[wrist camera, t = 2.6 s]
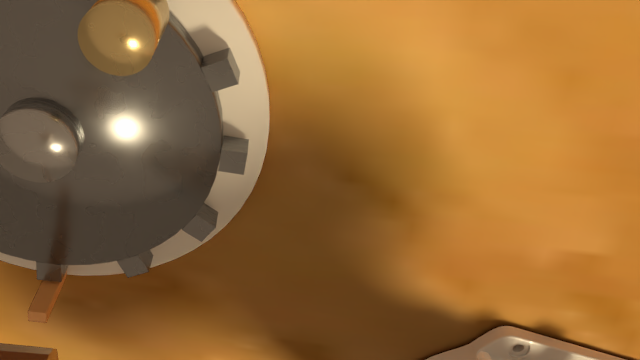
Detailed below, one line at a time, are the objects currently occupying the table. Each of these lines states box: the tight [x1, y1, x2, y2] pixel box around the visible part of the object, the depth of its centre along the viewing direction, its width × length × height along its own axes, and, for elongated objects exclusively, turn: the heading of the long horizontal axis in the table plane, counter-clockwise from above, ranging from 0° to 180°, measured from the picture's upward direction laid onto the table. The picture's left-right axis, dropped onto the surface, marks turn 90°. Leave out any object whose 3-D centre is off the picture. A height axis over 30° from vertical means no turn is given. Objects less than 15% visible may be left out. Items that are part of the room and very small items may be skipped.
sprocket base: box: [0, 0, 270, 323], centre depth 31 cm, size 23×23×6 cm
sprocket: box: [0, 0, 249, 282], centre depth 30 cm, size 21×21×6 cm
